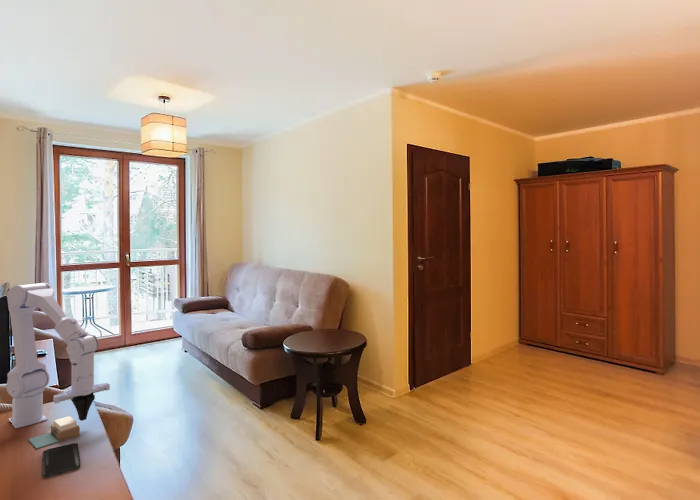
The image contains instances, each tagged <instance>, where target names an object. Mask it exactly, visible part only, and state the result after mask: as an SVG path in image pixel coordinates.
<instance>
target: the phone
mask: <svg viewBox="0 0 700 500" xmlns="http://www.w3.org/2000/svg"><path fill="white" fill-rule="evenodd" d="M79 450H80V449H79V444H78V443H77V442H73V443H68V444H64V445H60V446H55V447H51V448H48V449H45V450H43V452H42V459H41V461H42V474H41V475H42V479H50V478H52V477H56V476H57V477H58V476H61V475H63V474H67V473H71V472H74V471H77V470H79V469H81V468H82V467H81V465H82V463H81V456H80V451H79Z"/></svg>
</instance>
